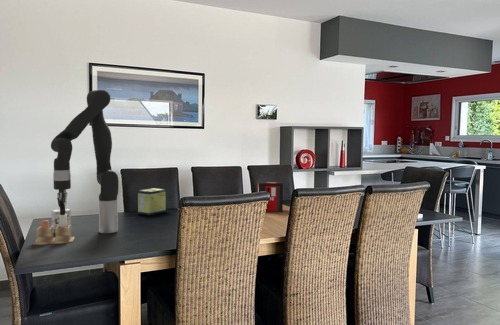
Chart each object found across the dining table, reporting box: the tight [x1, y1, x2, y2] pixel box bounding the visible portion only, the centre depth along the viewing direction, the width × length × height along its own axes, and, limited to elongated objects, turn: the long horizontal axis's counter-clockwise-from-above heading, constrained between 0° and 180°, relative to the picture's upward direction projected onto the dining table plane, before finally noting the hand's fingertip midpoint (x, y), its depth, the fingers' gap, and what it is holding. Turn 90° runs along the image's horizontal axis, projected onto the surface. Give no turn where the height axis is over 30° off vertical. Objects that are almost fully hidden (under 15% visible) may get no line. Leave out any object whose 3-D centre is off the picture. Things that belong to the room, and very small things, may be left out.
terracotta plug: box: [40, 219, 50, 229], centre depth 189 cm, size 3×3×8 cm
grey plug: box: [59, 214, 67, 228], centre depth 191 cm, size 3×3×8 cm
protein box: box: [137, 187, 167, 216], centre depth 262 cm, size 10×16×16 cm
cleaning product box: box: [257, 181, 284, 213], centre depth 272 cm, size 16×9×20 cm, turn 94°
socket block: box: [32, 224, 76, 246], centre depth 190 cm, size 17×9×7 cm, turn 107°
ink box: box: [51, 208, 72, 234], centre depth 209 cm, size 8×5×12 cm, turn 131°
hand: (62, 214), depth 191 cm, fingers closed
